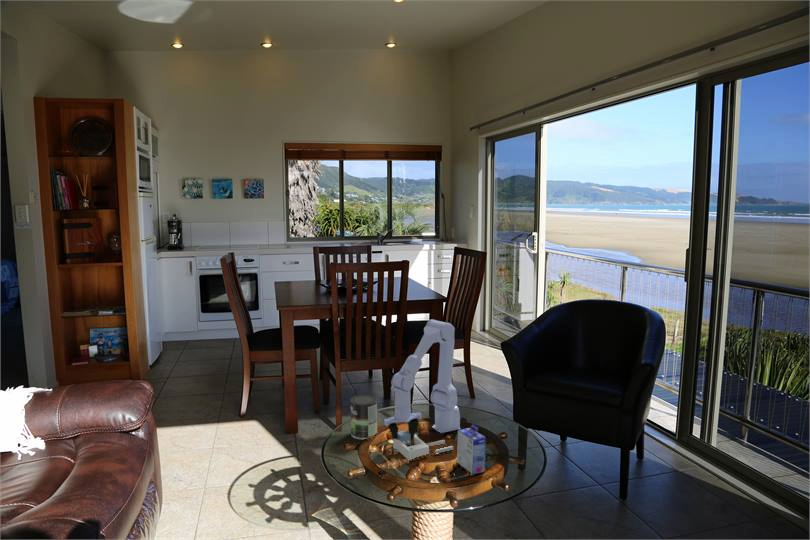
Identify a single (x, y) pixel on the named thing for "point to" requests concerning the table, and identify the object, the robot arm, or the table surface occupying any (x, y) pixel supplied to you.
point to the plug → (404, 437)
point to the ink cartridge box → (471, 450)
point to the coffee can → (363, 416)
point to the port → (411, 448)
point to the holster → (440, 448)
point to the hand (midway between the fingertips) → (403, 440)
